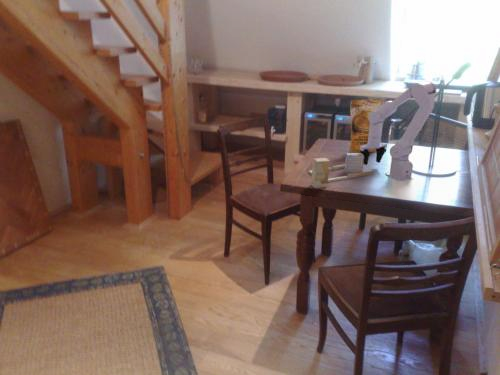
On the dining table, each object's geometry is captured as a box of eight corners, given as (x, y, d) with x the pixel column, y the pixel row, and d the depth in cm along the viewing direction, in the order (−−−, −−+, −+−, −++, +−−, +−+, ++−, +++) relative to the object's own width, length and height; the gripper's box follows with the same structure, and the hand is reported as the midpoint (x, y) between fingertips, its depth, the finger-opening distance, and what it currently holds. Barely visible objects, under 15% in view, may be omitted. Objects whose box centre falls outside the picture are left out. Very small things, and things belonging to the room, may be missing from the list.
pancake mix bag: (343, 149, 242) (348, 99, 231) (376, 148, 245) (382, 98, 234) (348, 153, 236) (352, 101, 225) (381, 151, 239) (387, 100, 228)
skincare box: (314, 188, 189) (316, 161, 185) (310, 184, 193) (312, 158, 189) (328, 187, 191) (330, 160, 186) (324, 183, 195) (325, 157, 190)
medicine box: (361, 170, 211) (362, 153, 208) (362, 173, 207) (364, 155, 204) (344, 169, 212) (346, 152, 209) (345, 172, 208) (347, 155, 205)
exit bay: (347, 178, 200) (347, 176, 200) (324, 182, 196) (325, 180, 195) (330, 169, 212) (330, 167, 212) (308, 172, 208) (308, 170, 207)
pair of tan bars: (372, 174, 206) (372, 171, 205) (347, 178, 201) (348, 175, 200) (355, 165, 217) (355, 162, 217) (331, 169, 212) (331, 166, 212)
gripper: (381, 132, 213) (378, 158, 218) (357, 135, 208) (354, 162, 213) (391, 136, 207) (387, 163, 213) (366, 139, 202) (363, 167, 207)
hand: (371, 163), depth 212 cm, fingers open, 7 cm apart
